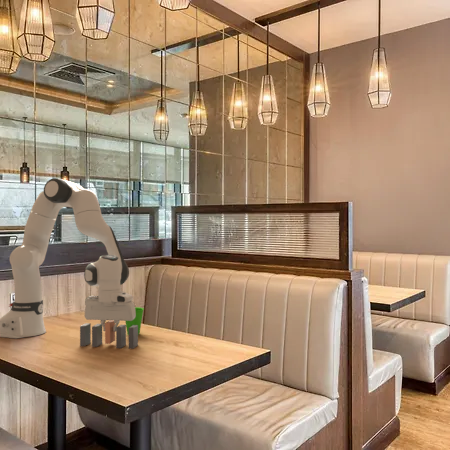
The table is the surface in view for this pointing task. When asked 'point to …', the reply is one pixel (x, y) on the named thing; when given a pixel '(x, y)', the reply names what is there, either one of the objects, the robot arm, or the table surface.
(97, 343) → the domino
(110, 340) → the domino
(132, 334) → the domino
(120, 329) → the domino
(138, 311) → the cup
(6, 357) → the table surface
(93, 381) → the table surface
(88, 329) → the domino
